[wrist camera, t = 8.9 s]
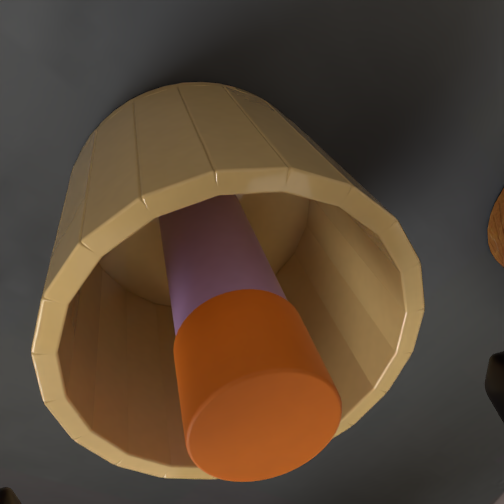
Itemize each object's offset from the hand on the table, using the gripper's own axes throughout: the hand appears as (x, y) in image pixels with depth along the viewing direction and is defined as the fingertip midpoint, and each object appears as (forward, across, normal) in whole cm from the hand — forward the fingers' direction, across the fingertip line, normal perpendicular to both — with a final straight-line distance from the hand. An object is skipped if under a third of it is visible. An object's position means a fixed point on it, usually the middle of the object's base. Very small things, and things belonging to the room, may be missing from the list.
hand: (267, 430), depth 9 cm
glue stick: (+9, 0, 0) cm, 9 cm away
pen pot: (+10, 0, 0) cm, 10 cm away
